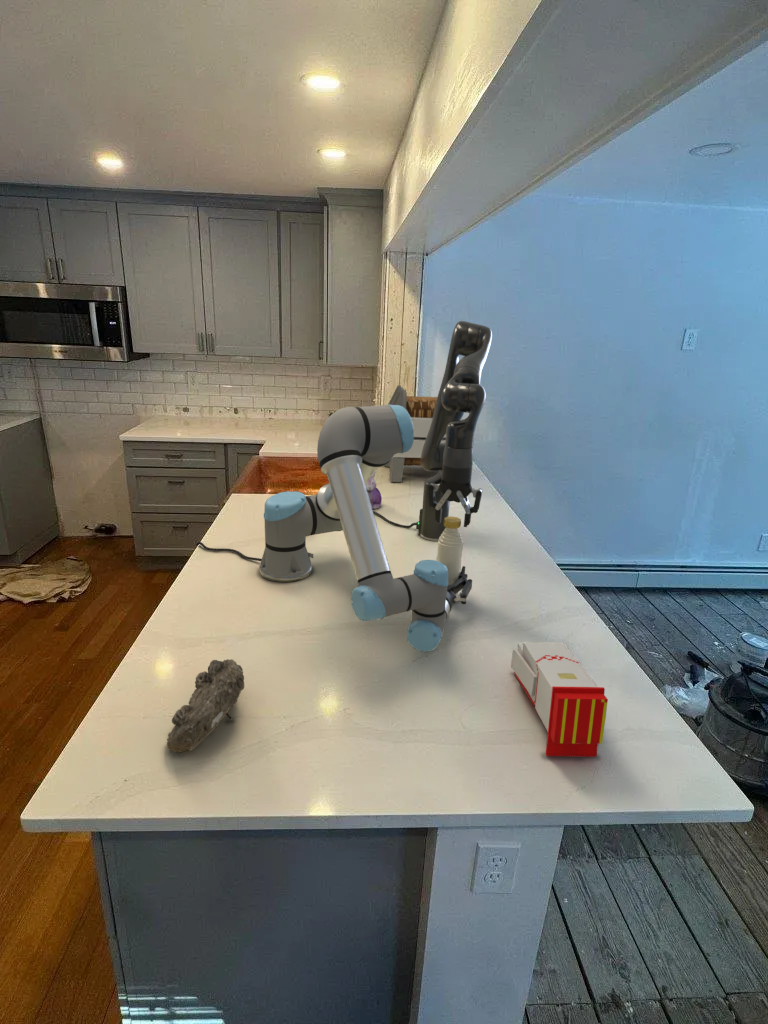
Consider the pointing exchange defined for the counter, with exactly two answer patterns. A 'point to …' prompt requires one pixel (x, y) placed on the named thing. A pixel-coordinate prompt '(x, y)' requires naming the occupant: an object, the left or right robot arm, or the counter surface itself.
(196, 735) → the fossil
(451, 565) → the bottle
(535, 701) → the toy
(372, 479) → the figurine
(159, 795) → the counter surface
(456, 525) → the cap
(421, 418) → the transformer
